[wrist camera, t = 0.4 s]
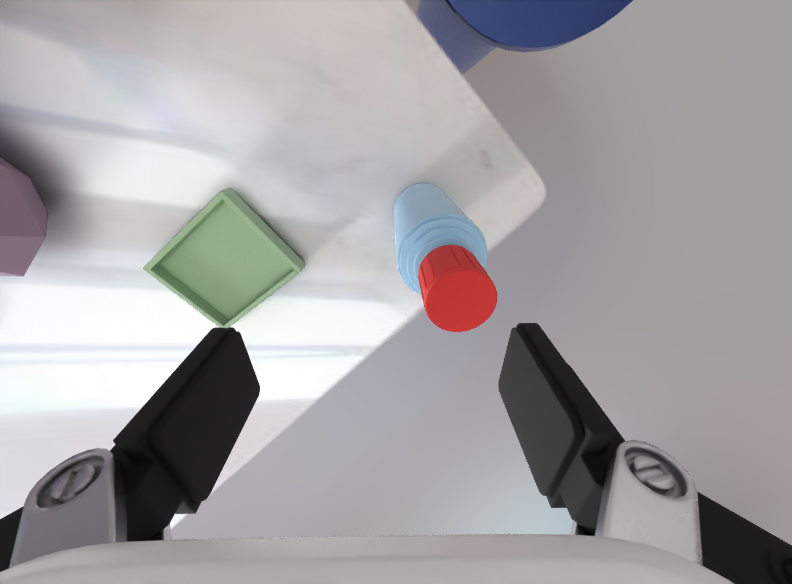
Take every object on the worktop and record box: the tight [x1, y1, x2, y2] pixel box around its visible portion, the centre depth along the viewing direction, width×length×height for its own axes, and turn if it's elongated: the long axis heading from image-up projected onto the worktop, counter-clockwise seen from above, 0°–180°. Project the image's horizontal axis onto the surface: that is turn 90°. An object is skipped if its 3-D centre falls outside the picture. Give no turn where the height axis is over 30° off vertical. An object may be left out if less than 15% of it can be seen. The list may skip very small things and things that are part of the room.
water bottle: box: [393, 183, 487, 295], centre depth 24 cm, size 6×6×20 cm
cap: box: [418, 245, 497, 332], centre depth 16 cm, size 4×4×4 cm
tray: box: [143, 188, 306, 328], centre depth 34 cm, size 14×11×2 cm
